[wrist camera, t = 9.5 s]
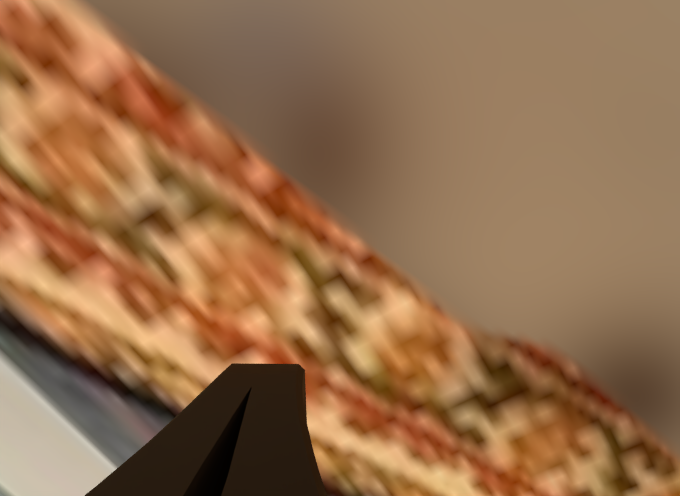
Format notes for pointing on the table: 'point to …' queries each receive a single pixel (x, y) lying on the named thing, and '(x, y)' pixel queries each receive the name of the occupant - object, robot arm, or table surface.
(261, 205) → the table surface
